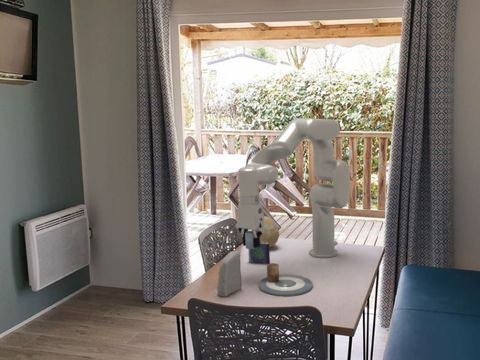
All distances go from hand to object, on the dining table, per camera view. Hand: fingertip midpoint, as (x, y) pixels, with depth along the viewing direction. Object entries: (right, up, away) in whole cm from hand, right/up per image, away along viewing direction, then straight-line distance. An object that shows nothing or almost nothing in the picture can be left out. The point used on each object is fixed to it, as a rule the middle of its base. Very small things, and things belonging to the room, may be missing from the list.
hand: (251, 245), depth 203 cm
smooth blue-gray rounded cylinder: (0, -1, 0) cm, 1 cm away
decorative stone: (-8, -16, -10) cm, 21 cm away
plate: (+13, -14, -6) cm, 20 cm away
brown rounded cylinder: (+8, -13, -3) cm, 16 cm away
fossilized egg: (+8, -7, +42) cm, 43 cm away
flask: (+4, -10, +21) cm, 24 cm away
